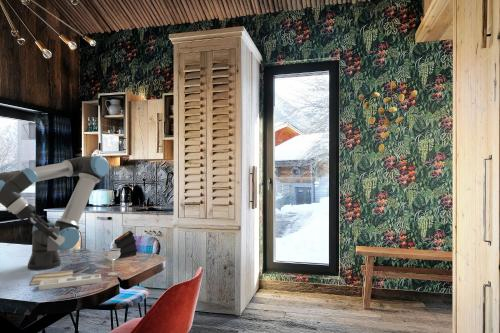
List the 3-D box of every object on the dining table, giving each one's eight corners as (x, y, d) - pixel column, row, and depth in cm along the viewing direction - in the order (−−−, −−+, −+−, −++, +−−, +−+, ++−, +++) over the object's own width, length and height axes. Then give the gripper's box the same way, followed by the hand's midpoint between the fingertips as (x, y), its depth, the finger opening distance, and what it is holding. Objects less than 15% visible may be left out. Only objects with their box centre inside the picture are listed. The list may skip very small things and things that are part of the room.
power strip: (40, 286, 145) (41, 279, 145) (100, 279, 156) (100, 273, 156) (38, 291, 139) (39, 284, 139) (101, 283, 150) (101, 277, 150)
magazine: (141, 251, 206) (132, 231, 201) (123, 264, 196) (113, 243, 192) (138, 250, 208) (129, 230, 204) (120, 263, 199) (110, 242, 194)
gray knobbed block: (48, 249, 157) (48, 225, 157) (58, 248, 159) (59, 225, 159) (47, 251, 153) (47, 226, 153) (58, 250, 155) (58, 226, 155)
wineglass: (105, 276, 160) (106, 251, 161) (105, 272, 166) (106, 248, 167) (120, 274, 163) (120, 250, 163) (120, 271, 169) (120, 247, 169)
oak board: (35, 276, 159) (35, 274, 159) (72, 272, 166) (72, 270, 166) (30, 286, 145) (30, 283, 145) (71, 281, 152) (71, 279, 152)
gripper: (18, 213, 157) (57, 244, 164) (11, 217, 142) (54, 252, 148) (32, 201, 160) (69, 233, 167) (26, 204, 144) (68, 239, 151)
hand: (62, 242), depth 157 cm, fingers closed on gray knobbed block, 4 cm apart
